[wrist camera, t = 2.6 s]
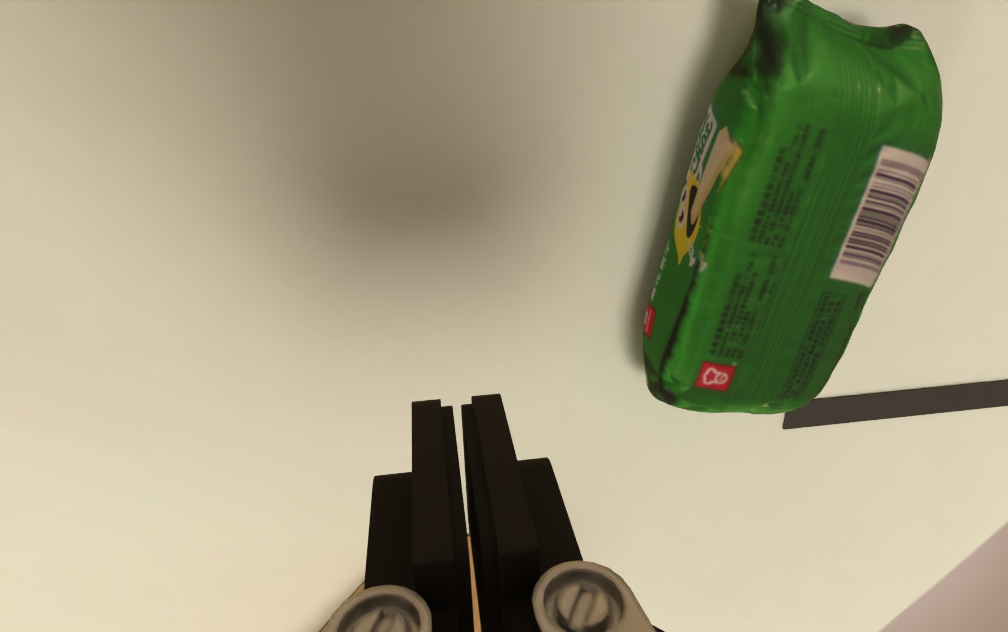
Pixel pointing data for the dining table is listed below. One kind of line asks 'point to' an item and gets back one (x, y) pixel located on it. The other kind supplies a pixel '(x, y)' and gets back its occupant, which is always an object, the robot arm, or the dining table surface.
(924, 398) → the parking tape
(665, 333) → the snack package
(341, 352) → the dining table surface
